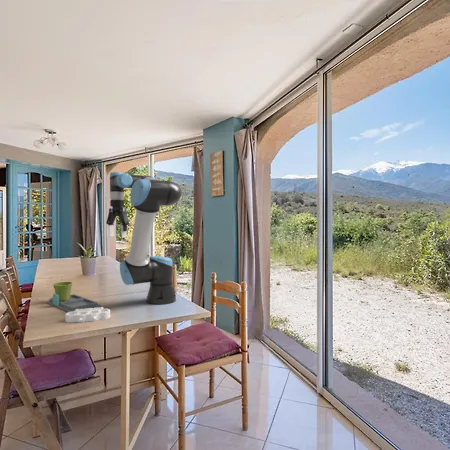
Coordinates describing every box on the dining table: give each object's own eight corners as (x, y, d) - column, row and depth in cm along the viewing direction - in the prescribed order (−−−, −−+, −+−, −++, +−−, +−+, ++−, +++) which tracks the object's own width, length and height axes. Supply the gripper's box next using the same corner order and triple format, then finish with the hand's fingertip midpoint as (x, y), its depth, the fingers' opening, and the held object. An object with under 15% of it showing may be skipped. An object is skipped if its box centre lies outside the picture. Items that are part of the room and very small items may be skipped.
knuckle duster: (110, 311, 152) (109, 321, 138) (68, 315, 147) (63, 326, 133) (110, 304, 152) (109, 313, 138) (68, 308, 146) (63, 317, 133)
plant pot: (64, 303, 163) (64, 285, 163) (48, 301, 165) (48, 284, 165) (77, 298, 172) (76, 282, 172) (61, 297, 174) (61, 281, 174)
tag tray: (100, 306, 160) (100, 294, 160) (69, 312, 149) (69, 300, 149) (76, 297, 178) (75, 286, 178) (46, 302, 167) (46, 291, 167)
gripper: (135, 198, 180) (135, 237, 181) (111, 200, 197) (112, 235, 197) (123, 198, 175) (123, 237, 175) (99, 200, 191) (100, 236, 192)
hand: (117, 236), depth 186 cm, fingers open, 13 cm apart
